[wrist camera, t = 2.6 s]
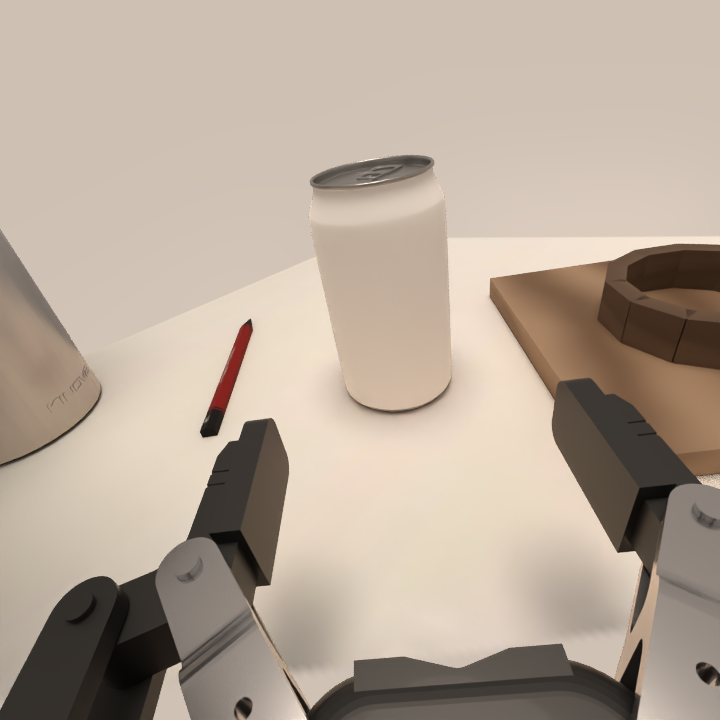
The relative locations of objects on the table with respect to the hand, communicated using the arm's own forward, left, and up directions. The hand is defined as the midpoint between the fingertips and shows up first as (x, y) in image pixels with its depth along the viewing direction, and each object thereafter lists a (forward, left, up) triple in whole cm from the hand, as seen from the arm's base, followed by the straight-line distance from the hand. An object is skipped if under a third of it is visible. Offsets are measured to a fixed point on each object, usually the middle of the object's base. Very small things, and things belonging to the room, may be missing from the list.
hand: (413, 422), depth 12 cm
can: (0, +11, -7) cm, 13 cm away
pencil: (-12, +15, -8) cm, 21 cm away
